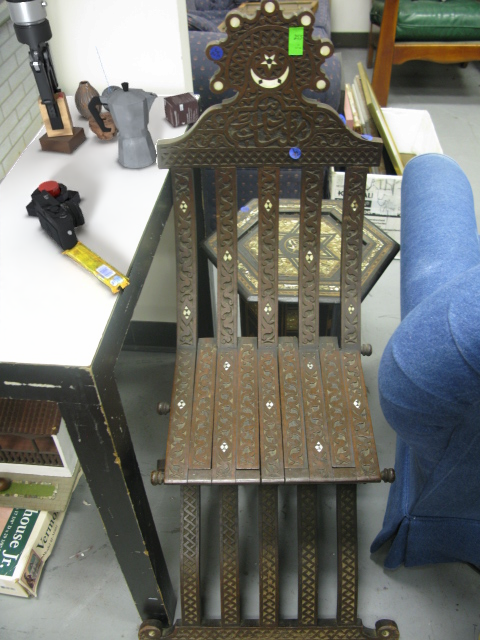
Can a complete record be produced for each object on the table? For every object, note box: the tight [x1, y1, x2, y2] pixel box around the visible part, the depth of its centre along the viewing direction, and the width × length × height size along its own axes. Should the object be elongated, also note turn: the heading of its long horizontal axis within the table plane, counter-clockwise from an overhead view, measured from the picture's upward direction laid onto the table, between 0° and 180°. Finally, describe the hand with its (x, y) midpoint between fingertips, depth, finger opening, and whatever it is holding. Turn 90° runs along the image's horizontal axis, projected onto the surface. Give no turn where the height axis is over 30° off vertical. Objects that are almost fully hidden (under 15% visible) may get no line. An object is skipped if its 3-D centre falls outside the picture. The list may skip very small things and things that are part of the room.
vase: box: [74, 80, 103, 119], centre depth 147 cm, size 7×7×9 cm
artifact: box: [88, 112, 119, 141], centre depth 139 cm, size 8×8×5 cm
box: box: [163, 92, 200, 128], centre depth 145 cm, size 6×6×7 cm
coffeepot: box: [88, 81, 159, 169], centre depth 126 cm, size 15×9×18 cm, turn 99°
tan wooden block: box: [37, 91, 75, 137], centre depth 134 cm, size 6×4×9 cm, turn 98°
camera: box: [30, 189, 86, 252], centre depth 108 cm, size 14×7×8 cm, turn 39°
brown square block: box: [38, 126, 87, 155], centre depth 138 cm, size 8×8×3 cm
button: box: [37, 180, 60, 196], centre depth 115 cm, size 4×4×2 cm
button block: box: [25, 182, 82, 218], centre depth 117 cm, size 8×8×4 cm
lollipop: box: [95, 47, 123, 113], centre depth 142 cm, size 10×20×7 cm
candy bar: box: [61, 240, 130, 295], centre depth 101 cm, size 17×4×2 cm, turn 46°
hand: (59, 124), depth 135 cm, fingers closed on tan wooden block, 3 cm apart
